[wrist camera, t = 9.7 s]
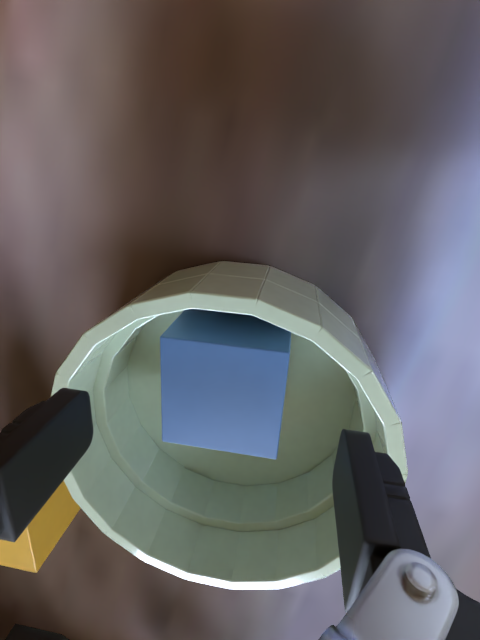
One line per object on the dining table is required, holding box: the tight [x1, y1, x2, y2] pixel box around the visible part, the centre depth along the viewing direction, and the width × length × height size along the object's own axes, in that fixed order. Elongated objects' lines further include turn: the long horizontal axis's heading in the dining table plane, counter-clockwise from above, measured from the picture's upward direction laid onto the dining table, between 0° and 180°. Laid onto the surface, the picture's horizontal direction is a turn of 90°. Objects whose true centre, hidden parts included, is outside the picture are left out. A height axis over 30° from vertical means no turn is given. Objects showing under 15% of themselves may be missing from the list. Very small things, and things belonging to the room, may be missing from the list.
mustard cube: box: [0, 480, 80, 573], centre depth 21 cm, size 5×5×5 cm
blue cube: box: [160, 309, 291, 459], centre depth 15 cm, size 5×5×5 cm
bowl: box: [51, 261, 408, 590], centre depth 16 cm, size 14×14×6 cm
